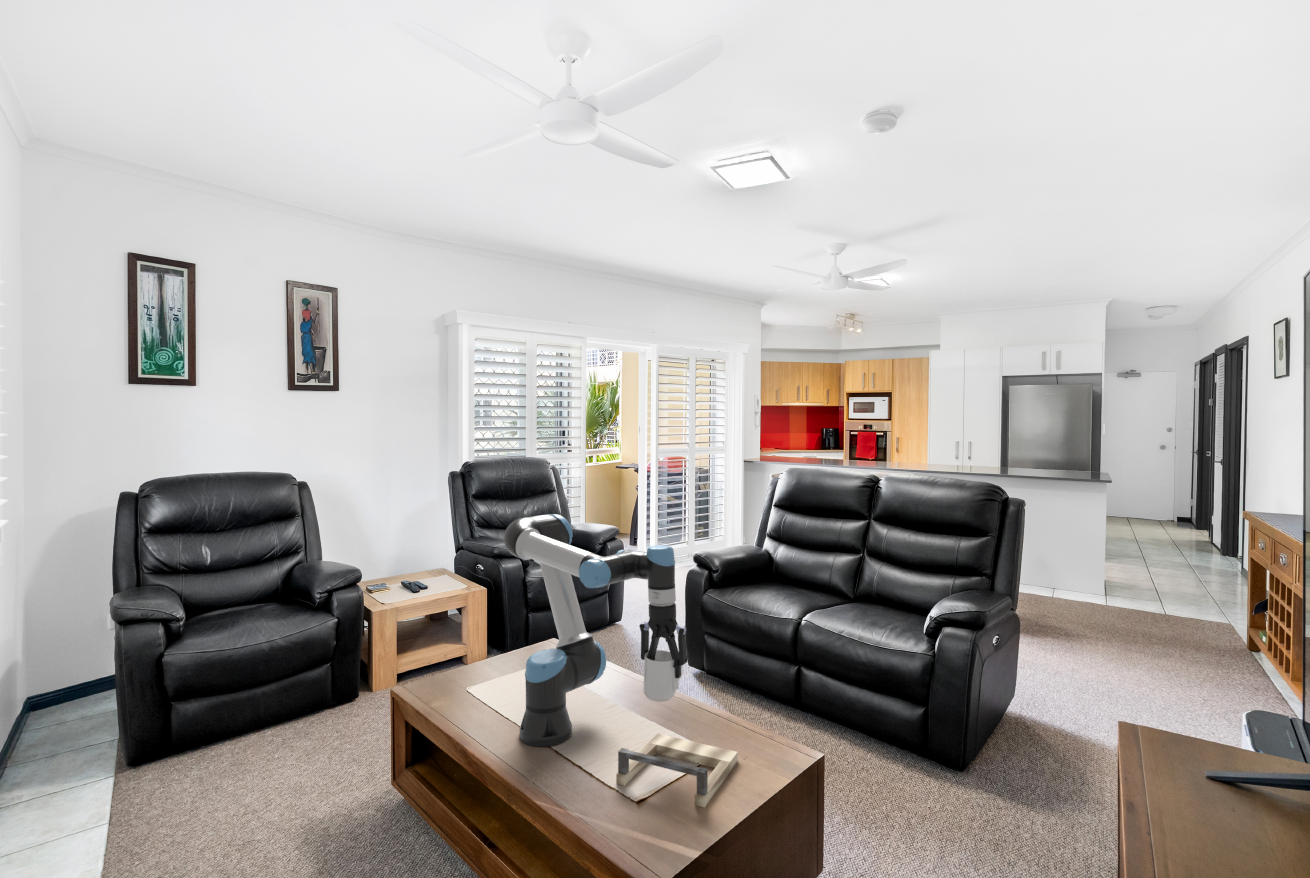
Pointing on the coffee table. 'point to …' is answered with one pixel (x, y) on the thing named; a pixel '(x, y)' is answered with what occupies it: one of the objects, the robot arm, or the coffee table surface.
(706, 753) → the beige and grey frame
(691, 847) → the coffee table surface
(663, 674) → the mug
